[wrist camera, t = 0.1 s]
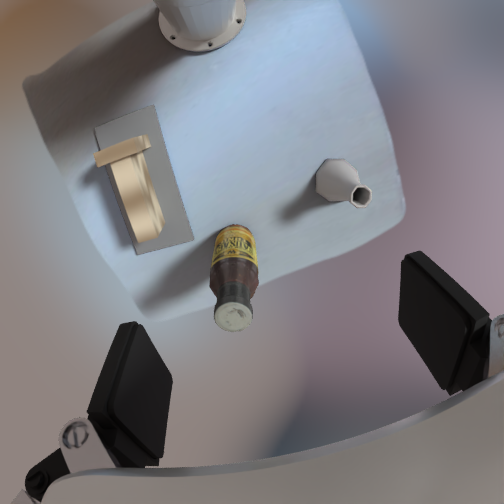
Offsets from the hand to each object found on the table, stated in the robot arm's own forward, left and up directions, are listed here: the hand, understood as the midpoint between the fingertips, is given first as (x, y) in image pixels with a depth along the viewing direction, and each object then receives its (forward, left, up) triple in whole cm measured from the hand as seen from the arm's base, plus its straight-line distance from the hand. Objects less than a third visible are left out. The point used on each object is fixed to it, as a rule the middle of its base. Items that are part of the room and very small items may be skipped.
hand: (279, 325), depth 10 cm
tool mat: (-1, -15, -37) cm, 40 cm away
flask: (+6, +14, -37) cm, 40 cm away
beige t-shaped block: (-1, -15, -36) cm, 39 cm away
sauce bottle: (+12, -4, -37) cm, 39 cm away
